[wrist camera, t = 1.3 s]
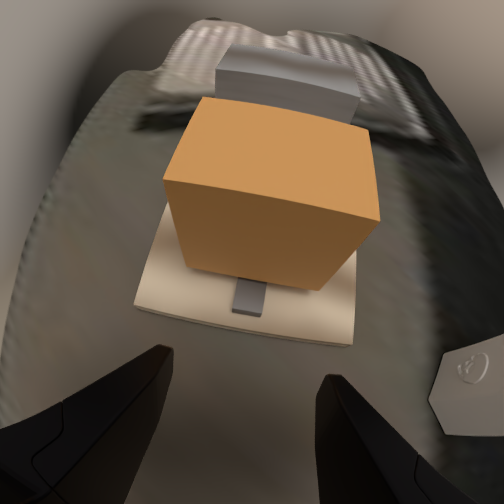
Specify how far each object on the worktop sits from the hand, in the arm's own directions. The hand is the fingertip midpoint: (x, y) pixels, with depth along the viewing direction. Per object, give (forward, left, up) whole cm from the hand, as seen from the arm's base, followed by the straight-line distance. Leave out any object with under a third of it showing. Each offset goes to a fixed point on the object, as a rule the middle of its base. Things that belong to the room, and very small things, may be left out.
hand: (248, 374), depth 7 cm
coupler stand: (+13, +9, -13) cm, 20 cm away
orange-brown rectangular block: (+8, +5, -10) cm, 14 cm away
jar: (+12, -17, -13) cm, 25 cm away
